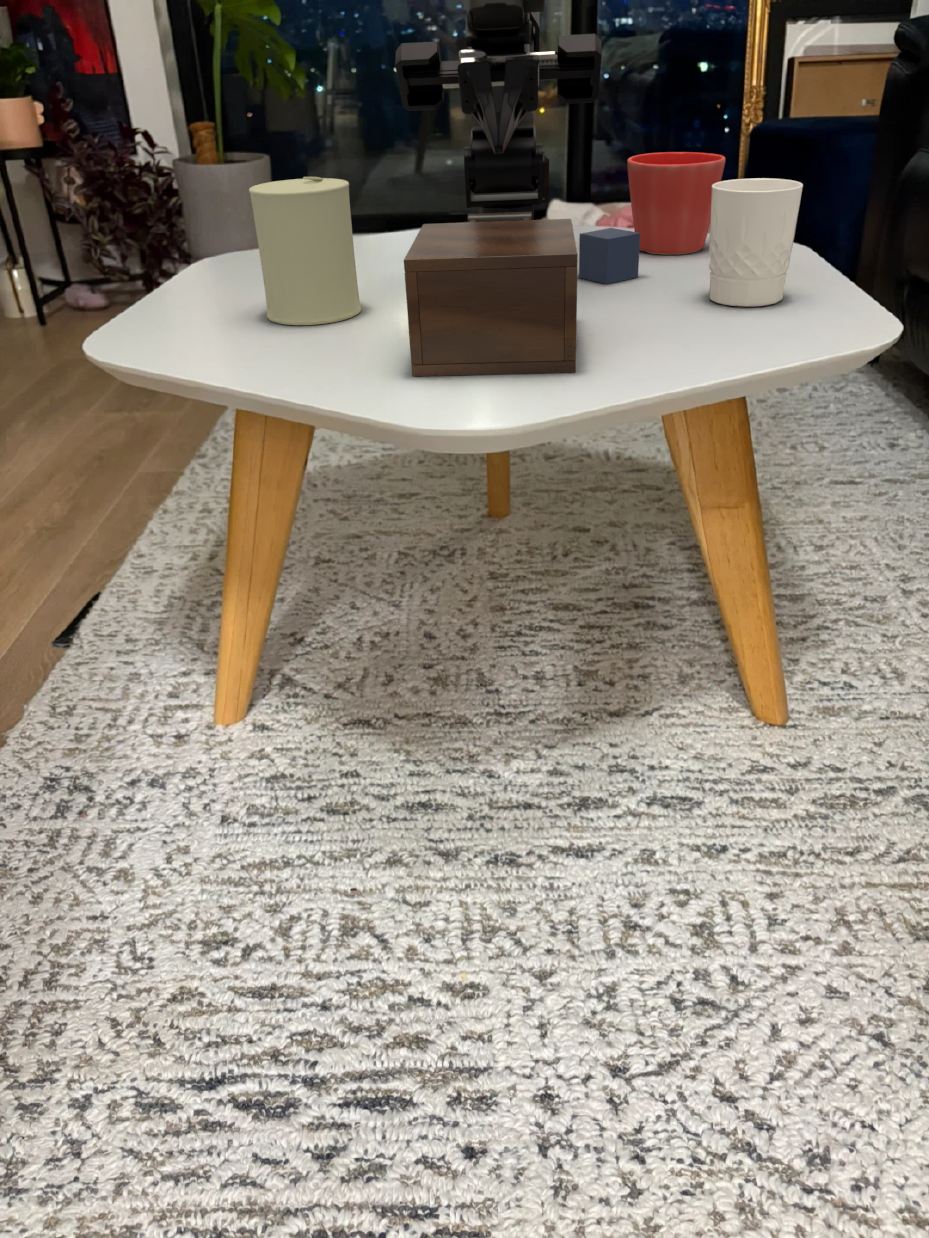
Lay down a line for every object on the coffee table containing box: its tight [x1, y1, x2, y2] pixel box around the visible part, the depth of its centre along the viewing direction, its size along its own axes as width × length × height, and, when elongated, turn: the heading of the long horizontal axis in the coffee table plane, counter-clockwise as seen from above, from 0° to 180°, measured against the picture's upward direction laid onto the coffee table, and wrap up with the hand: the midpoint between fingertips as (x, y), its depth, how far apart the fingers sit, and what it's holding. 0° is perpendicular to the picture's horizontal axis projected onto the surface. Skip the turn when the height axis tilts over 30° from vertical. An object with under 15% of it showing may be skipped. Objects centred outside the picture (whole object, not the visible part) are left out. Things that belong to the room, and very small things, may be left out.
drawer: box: [467, 212, 532, 222], centre depth 86 cm, size 18×12×7 cm, turn 176°
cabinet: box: [403, 218, 579, 377], centre depth 80 cm, size 15×13×9 cm
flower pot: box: [626, 151, 726, 256], centre depth 111 cm, size 11×11×10 cm
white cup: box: [708, 177, 804, 308], centre depth 90 cm, size 8×8×10 cm
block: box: [578, 227, 640, 285], centre depth 102 cm, size 4×4×4 cm
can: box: [248, 176, 362, 326], centre depth 92 cm, size 9×9×12 cm
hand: (498, 150), depth 89 cm, fingers closed
